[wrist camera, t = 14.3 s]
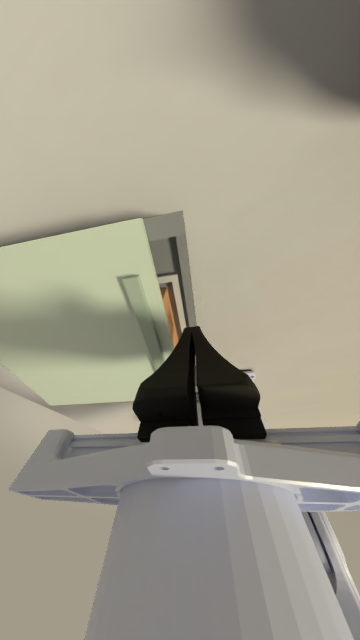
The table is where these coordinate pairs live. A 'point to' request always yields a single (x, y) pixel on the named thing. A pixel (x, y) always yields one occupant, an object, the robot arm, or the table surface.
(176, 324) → the housing
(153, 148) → the table surface
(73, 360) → the lid
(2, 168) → the table surface
